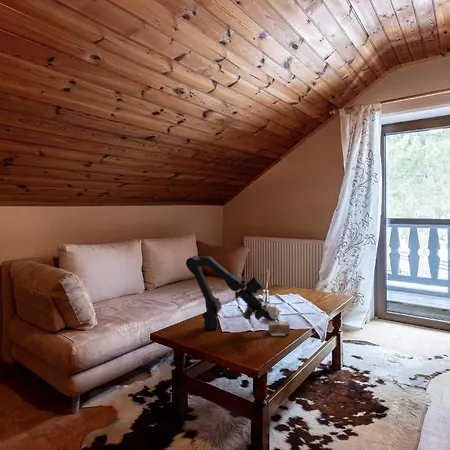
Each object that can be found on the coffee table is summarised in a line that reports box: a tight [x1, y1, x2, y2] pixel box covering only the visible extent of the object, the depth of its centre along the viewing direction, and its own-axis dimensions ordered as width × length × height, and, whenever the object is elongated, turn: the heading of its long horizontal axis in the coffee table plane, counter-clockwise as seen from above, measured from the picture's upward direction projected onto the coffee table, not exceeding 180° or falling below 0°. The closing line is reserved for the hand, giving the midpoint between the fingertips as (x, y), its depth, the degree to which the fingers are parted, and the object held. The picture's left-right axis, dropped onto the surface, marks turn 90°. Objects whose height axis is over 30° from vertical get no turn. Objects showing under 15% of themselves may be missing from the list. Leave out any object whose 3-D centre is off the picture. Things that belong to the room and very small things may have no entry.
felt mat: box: [270, 334, 287, 336], centre depth 179 cm, size 7×7×1 cm
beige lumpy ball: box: [266, 303, 282, 320], centre depth 197 cm, size 9×8×10 cm
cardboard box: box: [268, 321, 291, 335], centre depth 178 cm, size 5×4×10 cm
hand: (270, 319), depth 178 cm, fingers closed
